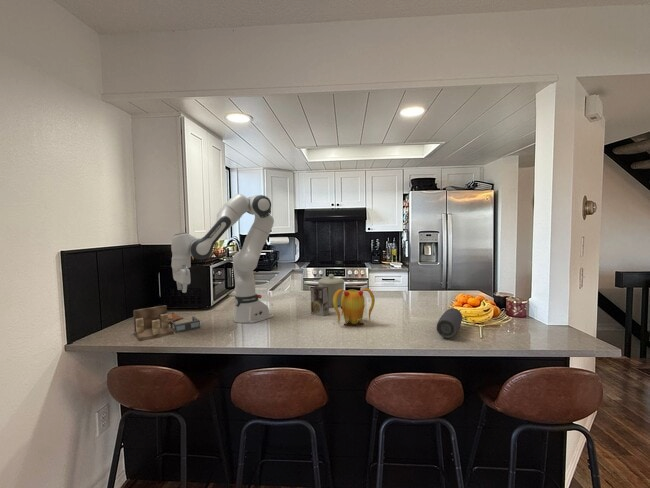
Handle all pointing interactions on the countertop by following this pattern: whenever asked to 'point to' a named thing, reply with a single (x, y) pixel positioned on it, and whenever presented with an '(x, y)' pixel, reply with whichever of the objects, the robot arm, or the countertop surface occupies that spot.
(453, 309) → the bluetooth speaker
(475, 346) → the countertop surface
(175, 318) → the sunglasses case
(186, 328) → the glasses
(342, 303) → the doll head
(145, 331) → the display stand
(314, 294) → the coffee box
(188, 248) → the robot arm
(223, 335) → the countertop surface
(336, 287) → the canister
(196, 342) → the countertop surface
